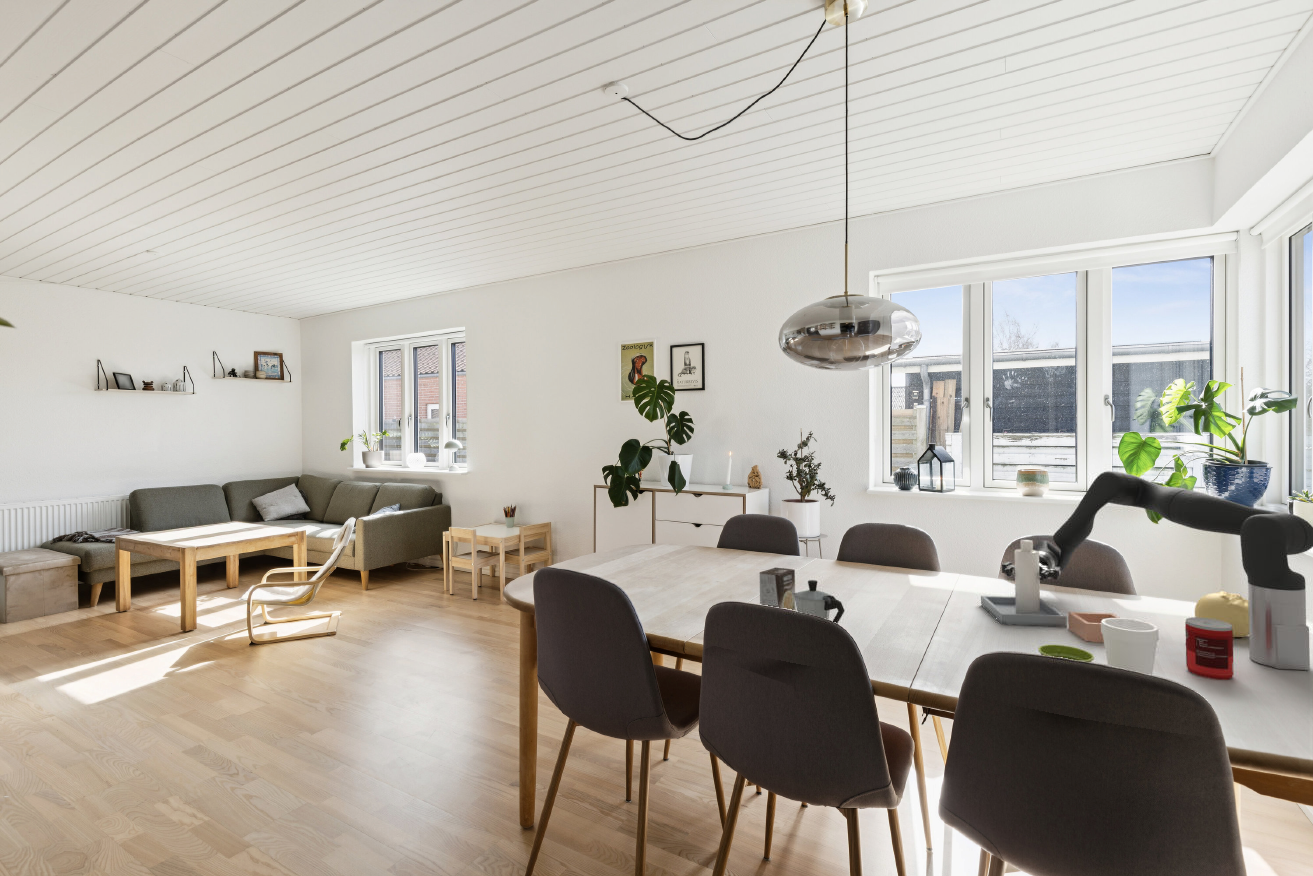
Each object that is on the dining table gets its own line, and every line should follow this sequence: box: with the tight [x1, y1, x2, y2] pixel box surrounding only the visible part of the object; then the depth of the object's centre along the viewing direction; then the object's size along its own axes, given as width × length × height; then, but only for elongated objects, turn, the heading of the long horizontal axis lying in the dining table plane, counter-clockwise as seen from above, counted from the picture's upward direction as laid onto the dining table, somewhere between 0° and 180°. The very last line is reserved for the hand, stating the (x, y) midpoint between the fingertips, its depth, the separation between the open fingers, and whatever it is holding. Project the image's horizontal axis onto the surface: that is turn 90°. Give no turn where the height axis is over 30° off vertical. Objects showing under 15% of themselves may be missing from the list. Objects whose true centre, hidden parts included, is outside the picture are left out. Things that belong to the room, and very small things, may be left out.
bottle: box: [1014, 539, 1041, 615], centre depth 179 cm, size 6×6×21 cm
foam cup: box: [1101, 617, 1160, 676], centre depth 130 cm, size 10×9×13 cm
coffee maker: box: [792, 579, 845, 625], centre depth 153 cm, size 15×9×18 cm, turn 40°
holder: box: [1067, 611, 1121, 643], centre depth 162 cm, size 10×10×4 cm
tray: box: [980, 595, 1068, 628], centre depth 182 cm, size 20×16×3 cm
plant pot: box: [1037, 644, 1095, 663], centre depth 127 cm, size 9×9×9 cm
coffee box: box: [759, 567, 796, 611], centre depth 175 cm, size 9×6×16 cm
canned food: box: [1184, 616, 1234, 681], centre depth 136 cm, size 8×8×11 cm
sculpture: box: [1194, 590, 1249, 638], centre depth 161 cm, size 12×12×11 cm
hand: (1024, 574), depth 178 cm, fingers open, 8 cm apart
